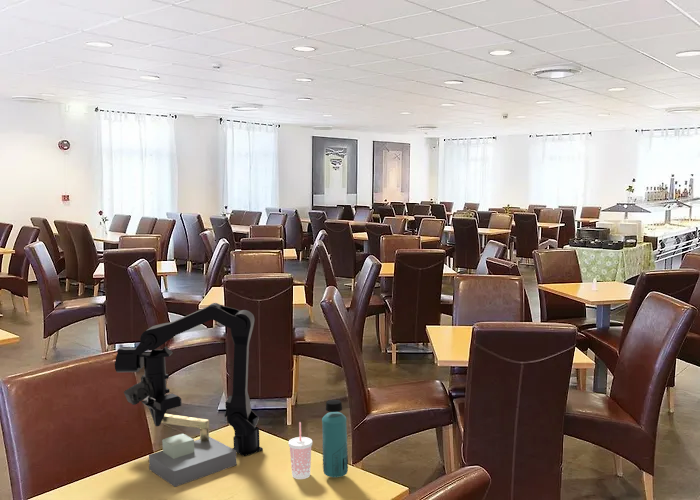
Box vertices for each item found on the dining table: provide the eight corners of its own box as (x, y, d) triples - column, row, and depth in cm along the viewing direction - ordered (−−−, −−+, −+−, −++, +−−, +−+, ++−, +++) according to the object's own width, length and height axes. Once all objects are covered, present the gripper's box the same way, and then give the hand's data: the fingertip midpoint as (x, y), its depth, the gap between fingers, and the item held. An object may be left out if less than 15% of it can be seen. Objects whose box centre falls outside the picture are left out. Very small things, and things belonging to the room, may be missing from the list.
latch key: (210, 438, 177) (210, 419, 176) (205, 441, 175) (205, 422, 174) (160, 431, 183) (159, 412, 183) (154, 433, 181) (154, 415, 180)
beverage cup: (318, 474, 163) (317, 421, 162) (300, 482, 159) (299, 428, 157) (301, 467, 167) (300, 416, 166) (284, 475, 163) (283, 422, 161)
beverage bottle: (345, 484, 157) (344, 406, 155) (319, 482, 159) (318, 404, 157) (350, 473, 164) (349, 397, 162) (325, 471, 165) (324, 396, 163)
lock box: (209, 450, 180) (208, 436, 179) (236, 465, 169) (236, 450, 169) (149, 469, 167) (148, 454, 167) (174, 486, 157) (174, 471, 157)
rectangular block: (183, 445, 173) (182, 433, 172) (194, 452, 168) (193, 439, 168) (162, 452, 169) (162, 439, 168) (173, 458, 164) (173, 445, 164)
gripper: (113, 371, 178) (115, 425, 180) (142, 384, 165) (145, 443, 166) (150, 363, 186) (152, 415, 187) (181, 375, 172) (183, 431, 174)
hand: (157, 425), depth 178 cm, fingers closed
